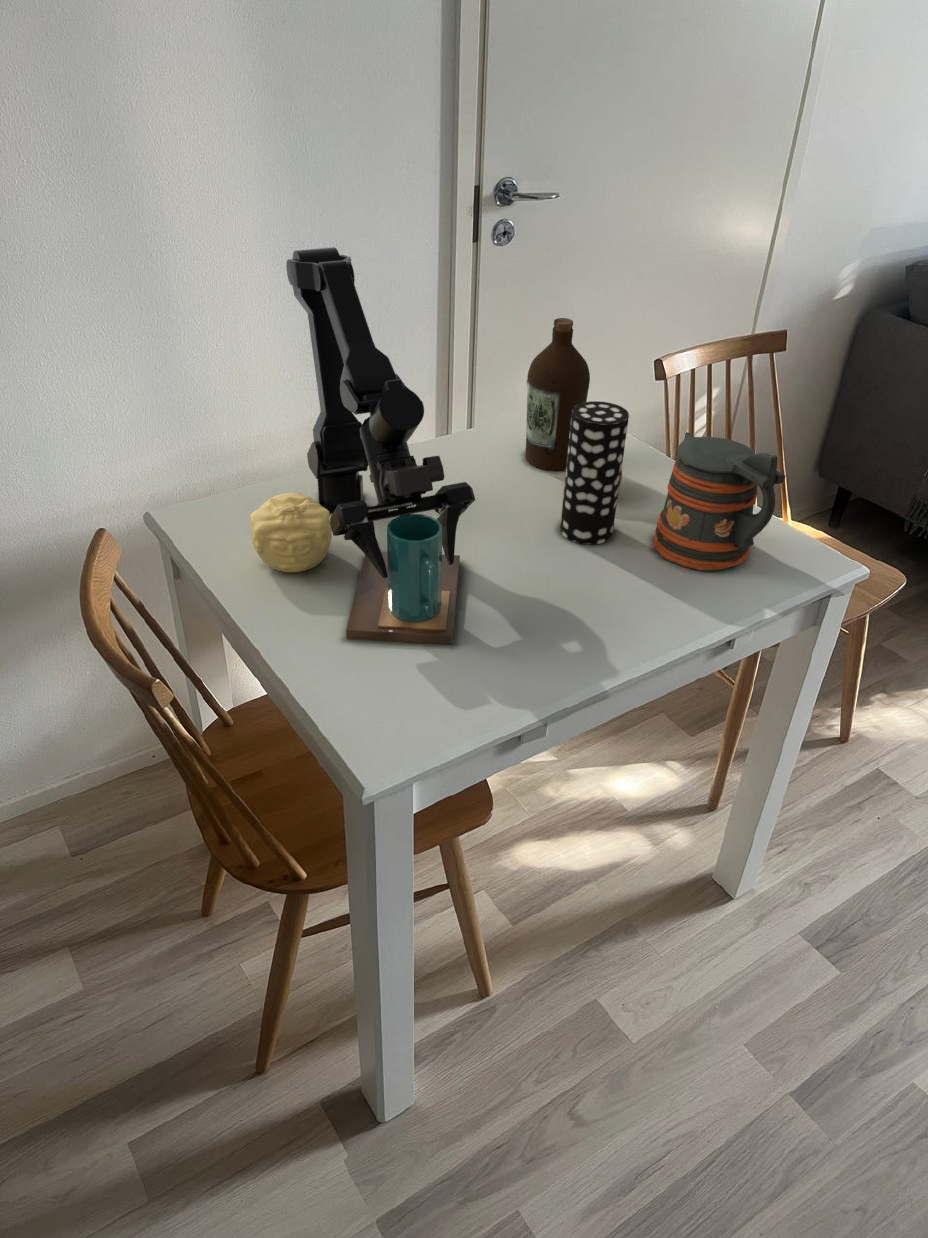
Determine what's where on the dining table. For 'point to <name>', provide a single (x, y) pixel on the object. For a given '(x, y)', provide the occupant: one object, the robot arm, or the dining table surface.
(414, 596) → the teal coffee mug
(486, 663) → the dining table surface
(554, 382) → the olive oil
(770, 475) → the beer stein
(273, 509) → the sculpture
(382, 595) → the board
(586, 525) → the spotted tube
